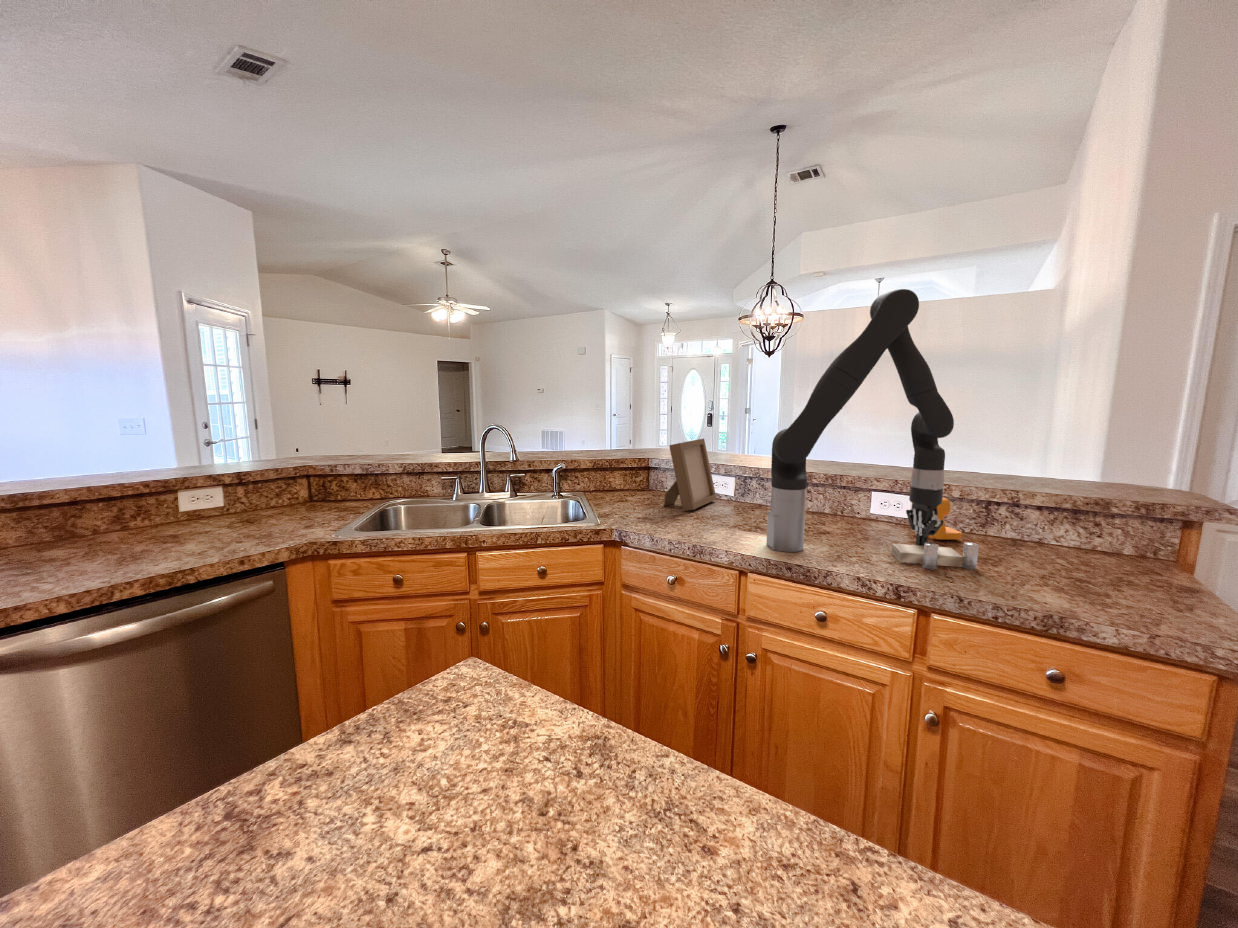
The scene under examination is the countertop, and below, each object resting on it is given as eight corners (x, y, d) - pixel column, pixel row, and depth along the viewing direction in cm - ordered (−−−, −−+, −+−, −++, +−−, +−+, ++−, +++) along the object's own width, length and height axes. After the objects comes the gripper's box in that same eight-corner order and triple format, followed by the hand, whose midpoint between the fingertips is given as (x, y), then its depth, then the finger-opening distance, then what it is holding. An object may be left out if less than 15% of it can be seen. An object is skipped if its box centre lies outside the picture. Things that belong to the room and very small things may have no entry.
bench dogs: (927, 569, 124) (929, 546, 123) (919, 565, 127) (921, 542, 126) (979, 569, 124) (981, 545, 123) (970, 565, 127) (973, 542, 126)
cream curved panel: (899, 563, 130) (900, 552, 129) (891, 554, 137) (892, 543, 137) (961, 568, 126) (962, 557, 126) (949, 558, 134) (950, 547, 133)
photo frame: (716, 501, 201) (717, 438, 197) (693, 512, 182) (693, 443, 179) (682, 497, 209) (683, 437, 205) (657, 507, 191) (657, 442, 187)
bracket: (962, 541, 147) (966, 501, 146) (938, 542, 147) (941, 501, 145) (938, 531, 158) (941, 494, 156) (915, 532, 158) (918, 494, 156)
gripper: (898, 481, 141) (893, 541, 143) (928, 490, 128) (922, 556, 130) (925, 481, 141) (919, 541, 143) (957, 490, 128) (951, 556, 130)
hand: (921, 548), depth 137 cm, fingers closed
